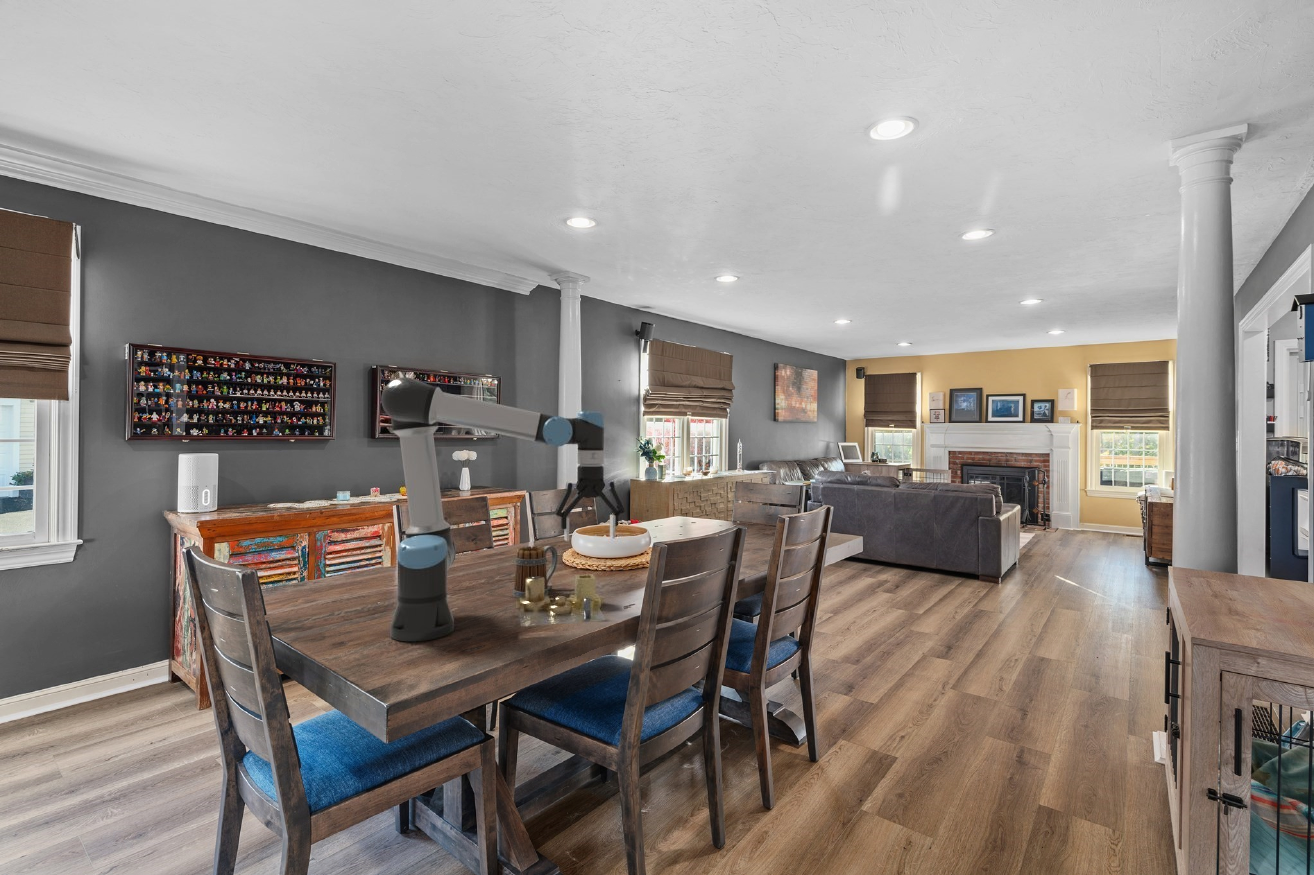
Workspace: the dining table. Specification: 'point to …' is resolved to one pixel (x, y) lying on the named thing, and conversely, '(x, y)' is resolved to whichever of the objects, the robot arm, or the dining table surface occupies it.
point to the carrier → (551, 607)
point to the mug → (533, 567)
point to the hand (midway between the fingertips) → (589, 539)
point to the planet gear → (584, 592)
